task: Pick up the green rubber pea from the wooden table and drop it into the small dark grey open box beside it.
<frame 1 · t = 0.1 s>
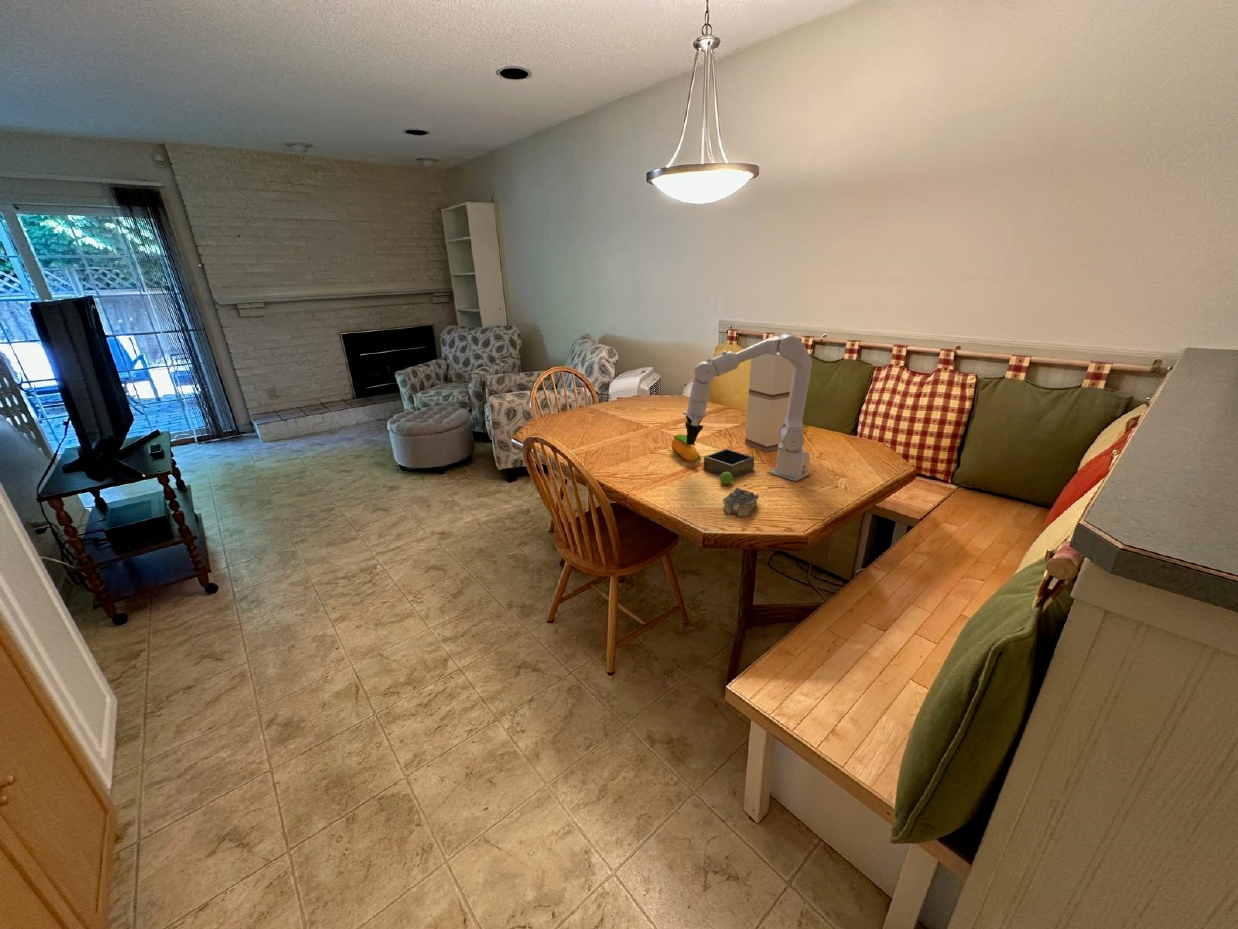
hand: (690, 440, 156), 10 cm above the table, tool pointing down, fingers open, 7 cm apart
dark grey open box: (728, 469, 159), on the table
gray rock: (740, 508, 133), on the table
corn: (686, 458, 170), on the table
pea: (725, 484, 148), on the table
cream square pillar: (766, 445, 181), on the table
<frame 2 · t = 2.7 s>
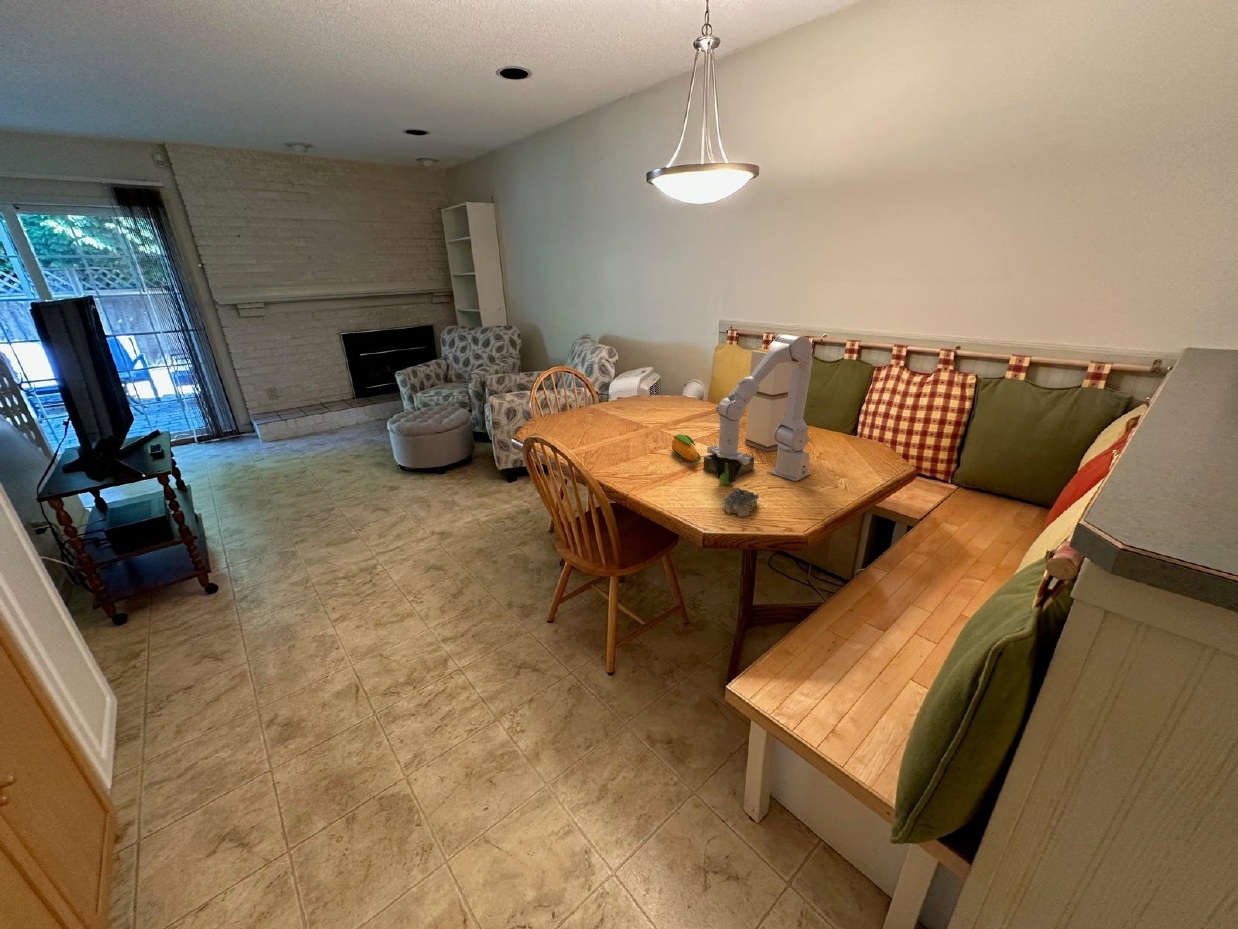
hand: (726, 479, 148), 1 cm above the table, tool pointing down, fingers closed on pea, 4 cm apart
pea: (726, 484, 148), on the table, touching gripper
everything else where it was.
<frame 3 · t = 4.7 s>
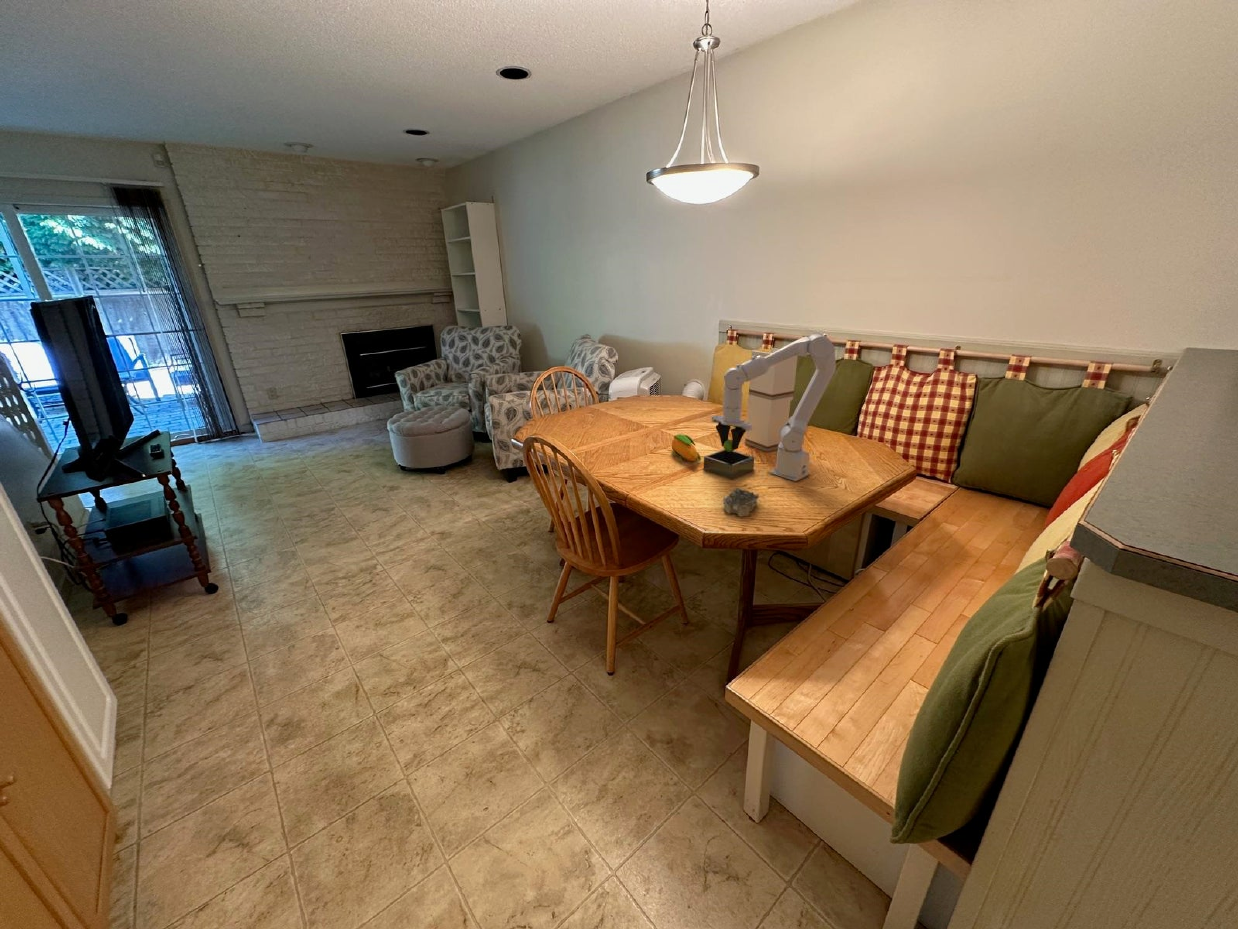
hand: (729, 447, 155), 8 cm above the table, tool pointing down, fingers closed on pea, 4 cm apart
pea: (729, 451, 156), point 7 cm above the table, touching gripper
everything else where it was.
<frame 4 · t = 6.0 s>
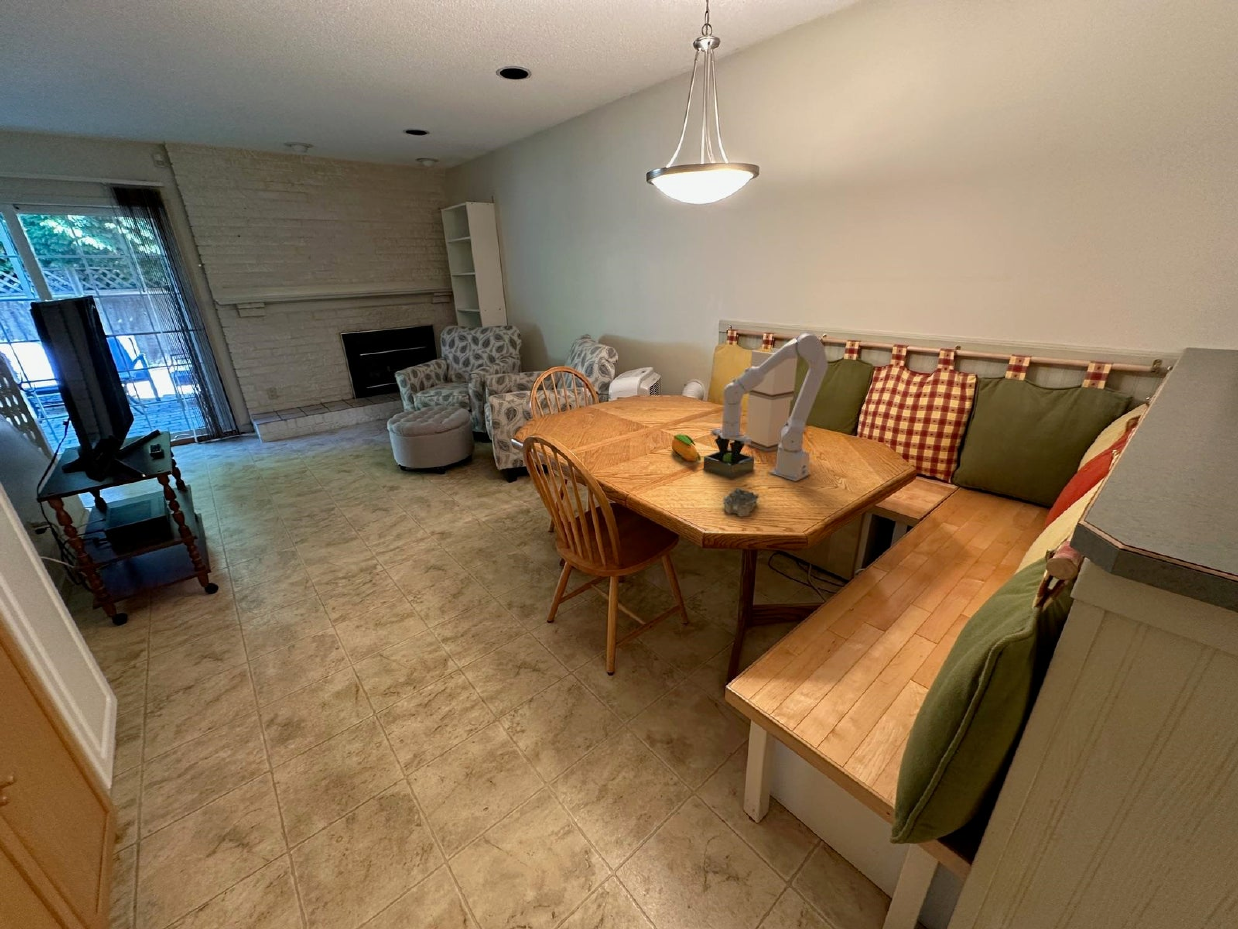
hand: (728, 460, 158), 3 cm above the table, tool pointing down, fingers closed on pea, 4 cm apart
pea: (728, 464, 158), point 2 cm above the table, touching gripper
everything else where it was.
when the fingers open (2 cm above the table, at t = 6.8 s): pea stays where it is, resting on dark grey open box.
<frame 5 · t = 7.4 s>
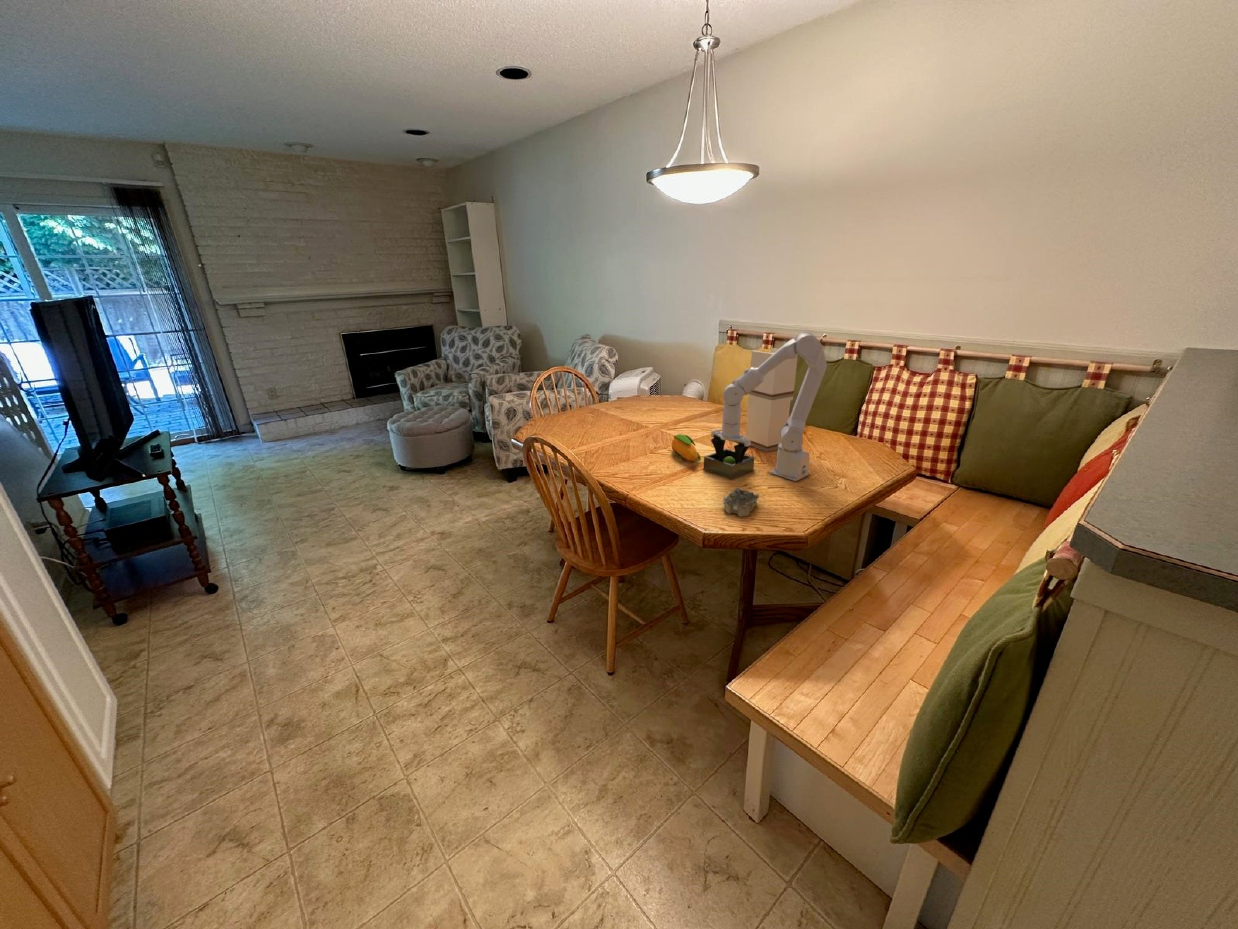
hand: (728, 461, 158), 3 cm above the table, tool pointing down, fingers open, 7 cm apart
pea: (728, 468, 159), point 1 cm above the table, touching dark grey open box
everything else where it was.
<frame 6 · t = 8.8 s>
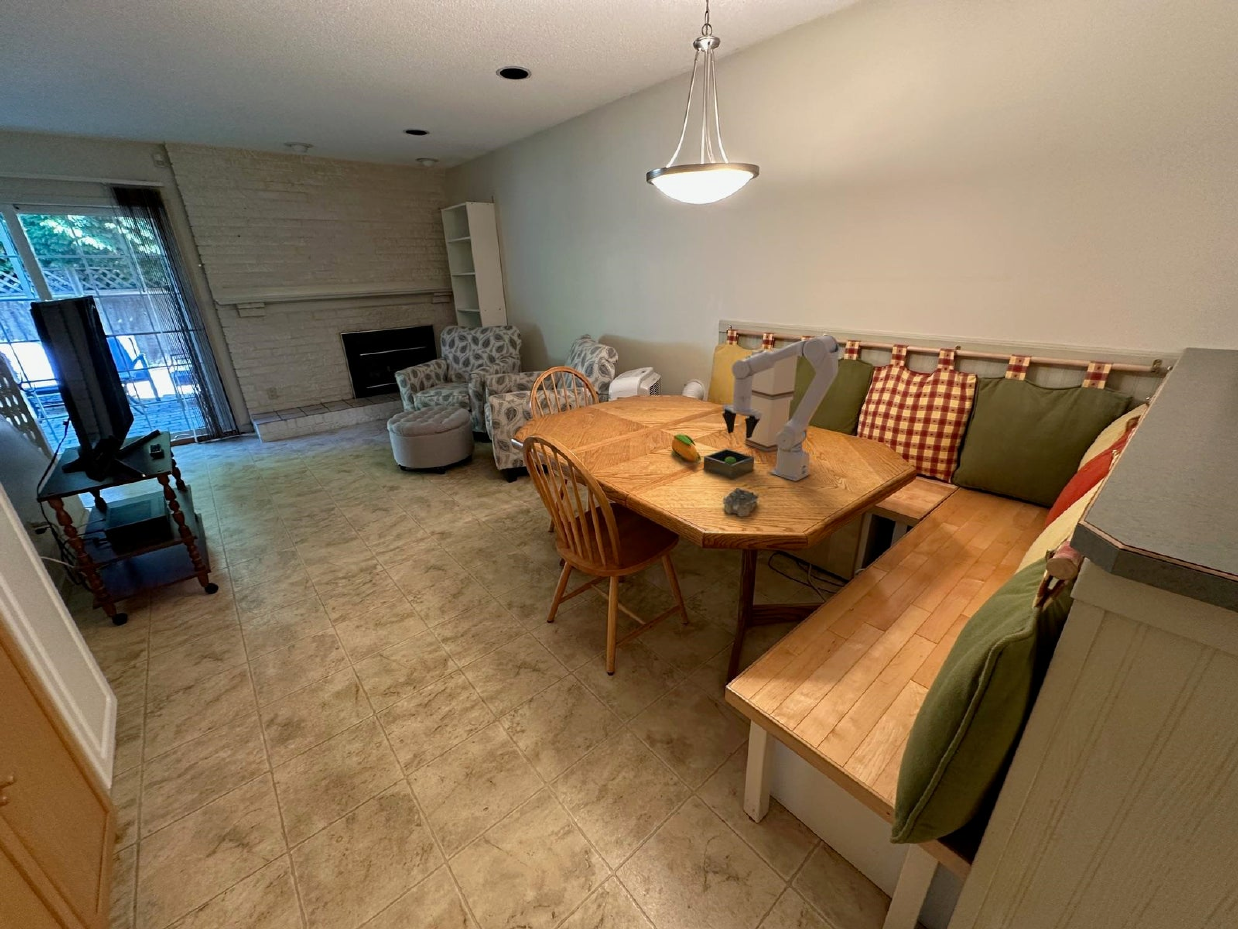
hand: (739, 435, 163), 9 cm above the table, tool pointing down, fingers open, 7 cm apart
pea: (728, 467, 159), point 1 cm above the table, tilted 14°, touching dark grey open box
everything else where it was.
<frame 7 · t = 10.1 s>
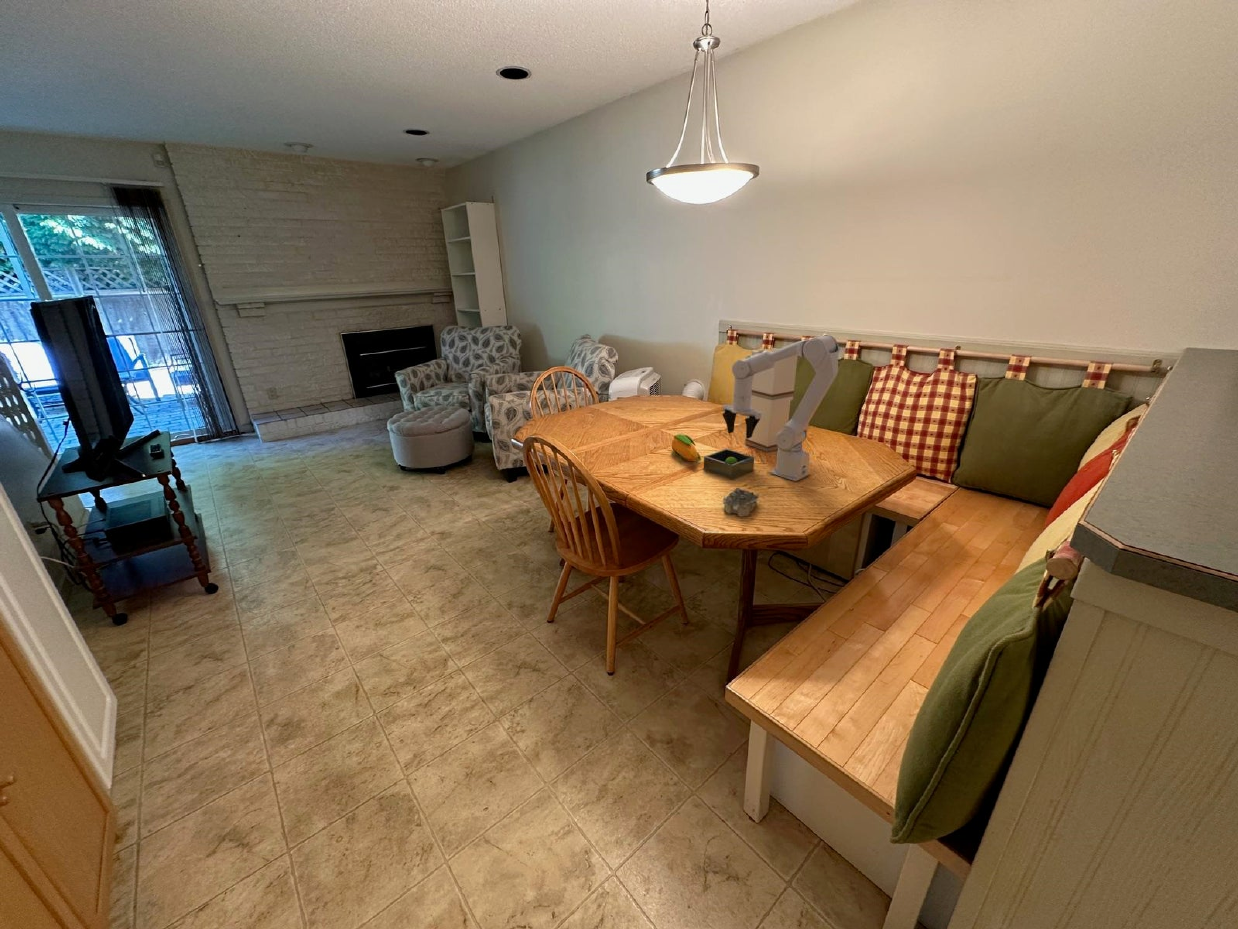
hand: (739, 435, 163), 9 cm above the table, tool pointing down, fingers open, 7 cm apart
pea: (728, 467, 159), point 1 cm above the table, tilted 24°, touching dark grey open box
everything else where it was.
at the end: pea inside the target area in the dark grey open box (0.0 cm from its centre), point 0.8 cm above the dark grey open box's base; the gripper is holding nothing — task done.
